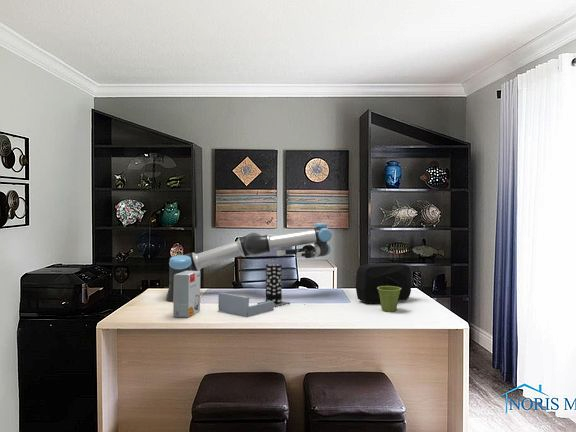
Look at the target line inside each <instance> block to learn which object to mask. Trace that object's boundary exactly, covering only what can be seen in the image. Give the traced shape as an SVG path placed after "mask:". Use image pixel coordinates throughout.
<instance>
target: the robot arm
mask: <svg viewBox="0 0 576 432" xmlns="http://www.w3.org/2000/svg"><path fill="white" fill-rule="evenodd" d="M332 236H333V233H332V231H331V230H330V229H329V228H328V224H327V223H326V222H316V223H314V229H309V230H303V231H302V230H301V231H296V232H295V231H294V232H289V233H284V234H283V233H282V234H275V235H269V234H264V235H261V234H260V233H257V232H251V233H248V234H246V235H243V236H241V237H238V239H236V241H234V242H233V241H232V242H230V243H227V244H224V245H221V246H218V247H214V248H212V249H208V250H206V251H202V252H201V251H200V252H199V253H195V252H190V253H186V254H179V255H173V256H171V257H170V258H169V262H168V264H169V266H168V267H169V286H168V289H167V293H166V296H165V300H166V301H168V302H172V303H173V296H174V275H175V274H178V273H181V272H184V271H200V272H201V269H203V268H206V267H209V266H213V265H216V264H219V263H221V262H225V261H228V260H231V259H234V258H236V257H244V258H246V257H250V256H258V255H261V254H266V253H271V252H272V250H276V256H277V257H281V256H283V257H285V256H286V255H287V256H288V255H295V256H296V259H301V258H305V259H315V258H319V257H320V258H321V257H325V256H328V255H330V253H331V250H332V249H331V246H330V245H329V243H328V242H329V241H331V239H332ZM296 246H302V248H291V247H296ZM285 248H289V249H285ZM290 248H291V249H290ZM279 249H281V250H279Z"/></svg>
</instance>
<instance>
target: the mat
mask: <svg viewBox="0 0 576 432" xmlns="http://www.w3.org/2000/svg"><path fill="white" fill-rule="evenodd" d="M265 302H266V300H265V301H261V302H257V304H261V303H265ZM286 304H287V305H290V302H288V301H283V300H282V303H281V304H275V305H274V307H275V308H278V306H279V307H282V305H283V306H286Z"/></svg>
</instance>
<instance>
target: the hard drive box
mask: <svg viewBox="0 0 576 432" xmlns="http://www.w3.org/2000/svg"><path fill="white" fill-rule="evenodd" d="M172 304H173V306H172V307H173V308H172V309H173V311H172V312H173V313H172V316H173V318H175V317H176V318H190V317H192V316H193V315H195V314H197V313H199V312H201V270H200V271H184V272H181V273H178V274H175V275H174V296H173V302H172Z"/></svg>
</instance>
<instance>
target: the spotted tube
mask: <svg viewBox="0 0 576 432" xmlns="http://www.w3.org/2000/svg"><path fill="white" fill-rule="evenodd" d="M282 266H283V265H282V264H280V263H267V264H265V301H266V302H269V301H274V305H275V304H281V303H282V301H283V300H282V295H283V293H282V290H283V289H282V283H283V281H282V275H283V274H282V273H283V272H282V271H283V270H282V269H283V267H282Z"/></svg>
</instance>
